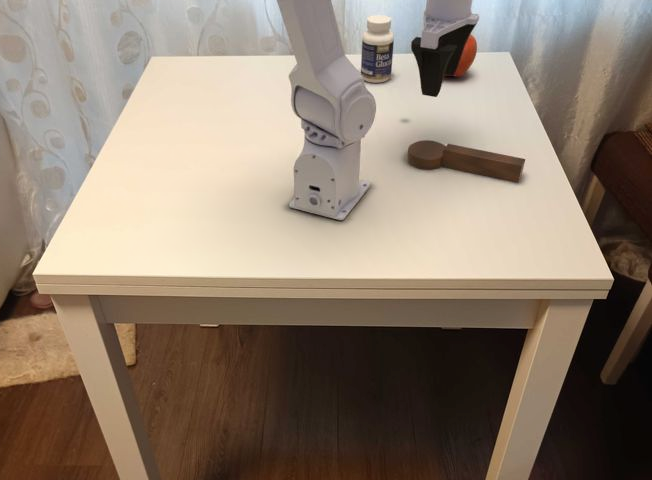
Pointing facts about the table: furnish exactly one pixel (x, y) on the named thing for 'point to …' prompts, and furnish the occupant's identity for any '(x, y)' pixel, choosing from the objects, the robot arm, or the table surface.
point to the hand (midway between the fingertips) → (438, 84)
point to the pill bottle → (377, 49)
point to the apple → (466, 57)
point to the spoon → (465, 160)
